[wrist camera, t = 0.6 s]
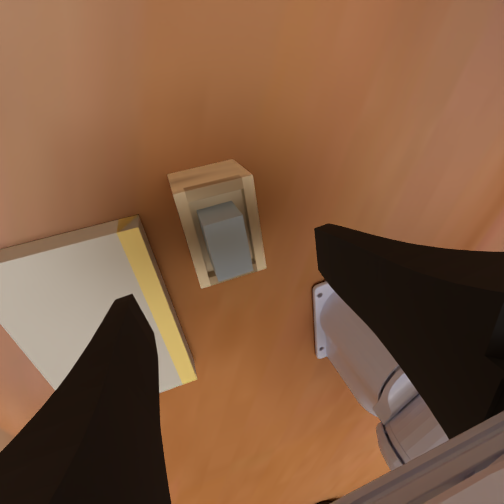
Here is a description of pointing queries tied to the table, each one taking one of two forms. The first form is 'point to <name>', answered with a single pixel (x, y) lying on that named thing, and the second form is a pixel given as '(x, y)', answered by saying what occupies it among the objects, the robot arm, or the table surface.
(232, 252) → the grey square prism
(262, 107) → the table surface
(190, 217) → the tan hollow block
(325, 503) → the spread jar
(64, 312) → the dock
